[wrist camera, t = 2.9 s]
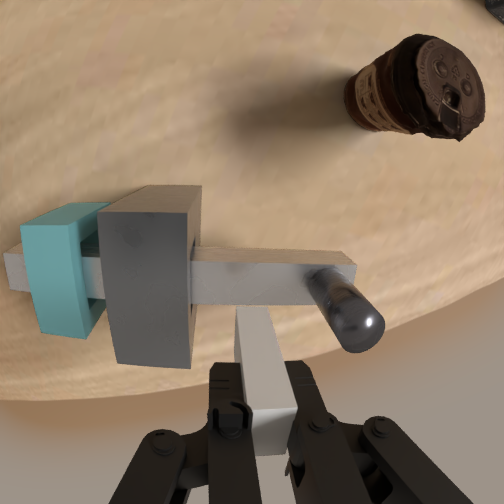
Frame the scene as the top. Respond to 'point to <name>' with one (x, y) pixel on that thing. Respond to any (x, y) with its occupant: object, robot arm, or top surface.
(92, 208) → the spacer
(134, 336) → the bearing block
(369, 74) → the coffee cup
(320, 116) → the top surface
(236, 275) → the shaft
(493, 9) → the box
